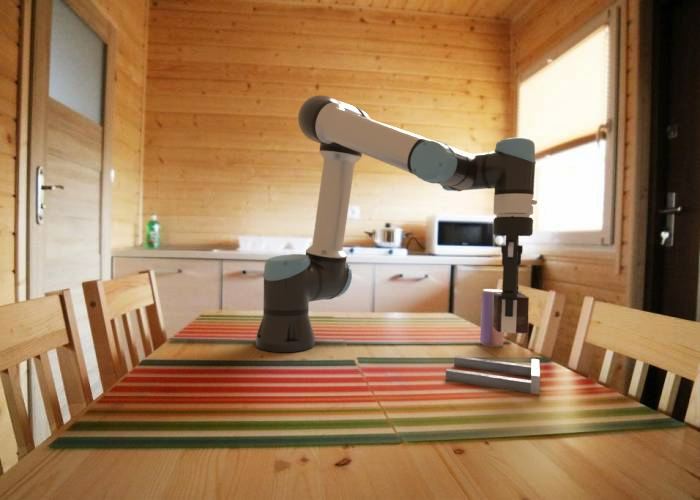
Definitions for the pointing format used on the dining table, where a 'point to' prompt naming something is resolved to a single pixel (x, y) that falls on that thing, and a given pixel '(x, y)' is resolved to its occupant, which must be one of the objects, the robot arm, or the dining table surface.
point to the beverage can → (489, 320)
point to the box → (520, 317)
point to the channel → (493, 380)
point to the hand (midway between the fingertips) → (509, 328)
